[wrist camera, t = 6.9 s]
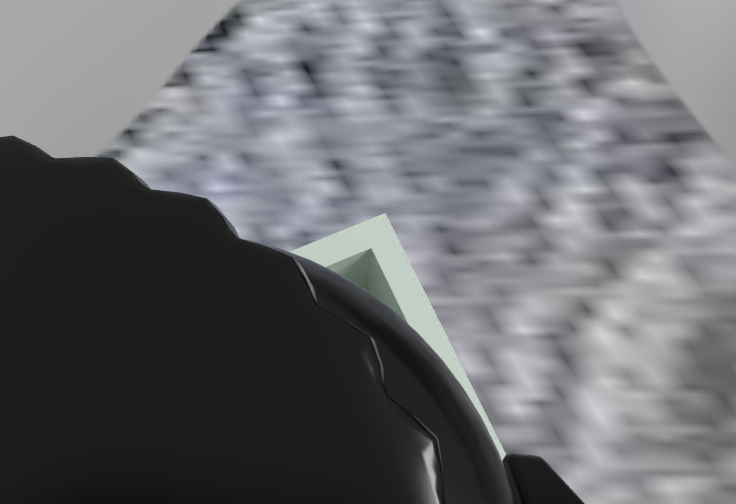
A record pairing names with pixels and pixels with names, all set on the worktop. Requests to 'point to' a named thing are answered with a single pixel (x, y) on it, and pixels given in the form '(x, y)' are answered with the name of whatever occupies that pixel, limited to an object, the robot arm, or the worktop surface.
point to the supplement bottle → (206, 361)
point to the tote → (390, 286)
